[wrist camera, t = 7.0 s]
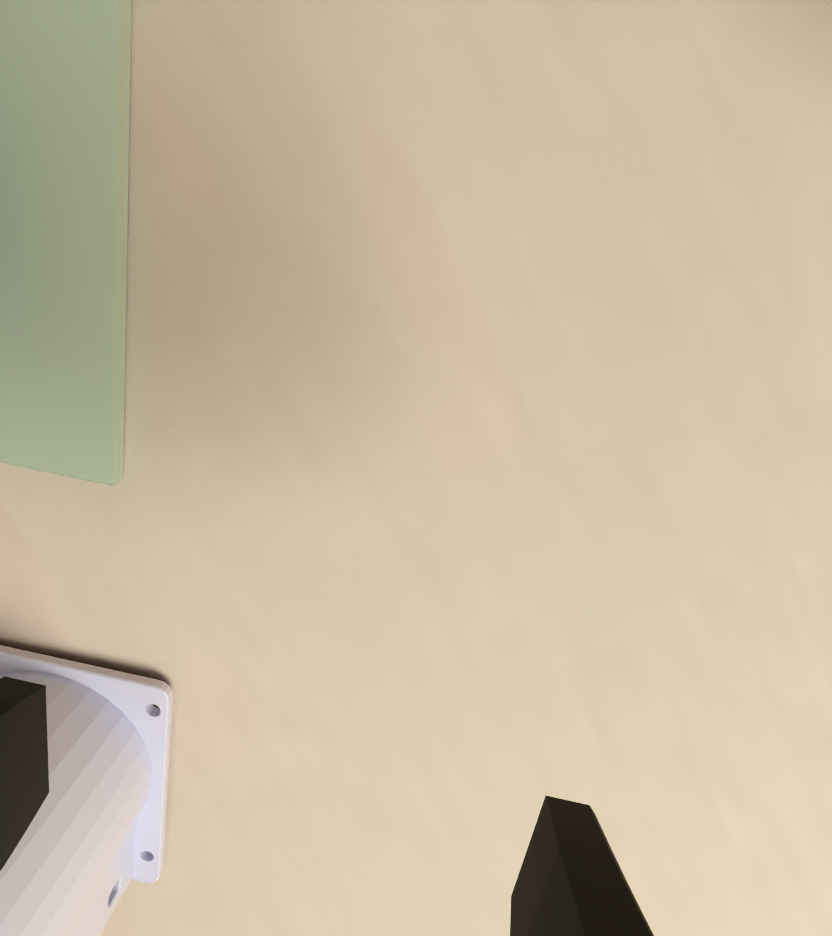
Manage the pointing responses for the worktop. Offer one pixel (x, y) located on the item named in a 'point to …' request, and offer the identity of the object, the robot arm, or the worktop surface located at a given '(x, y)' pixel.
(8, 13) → the baseplate
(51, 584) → the worktop surface
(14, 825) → the robot arm
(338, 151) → the worktop surface
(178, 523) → the worktop surface
